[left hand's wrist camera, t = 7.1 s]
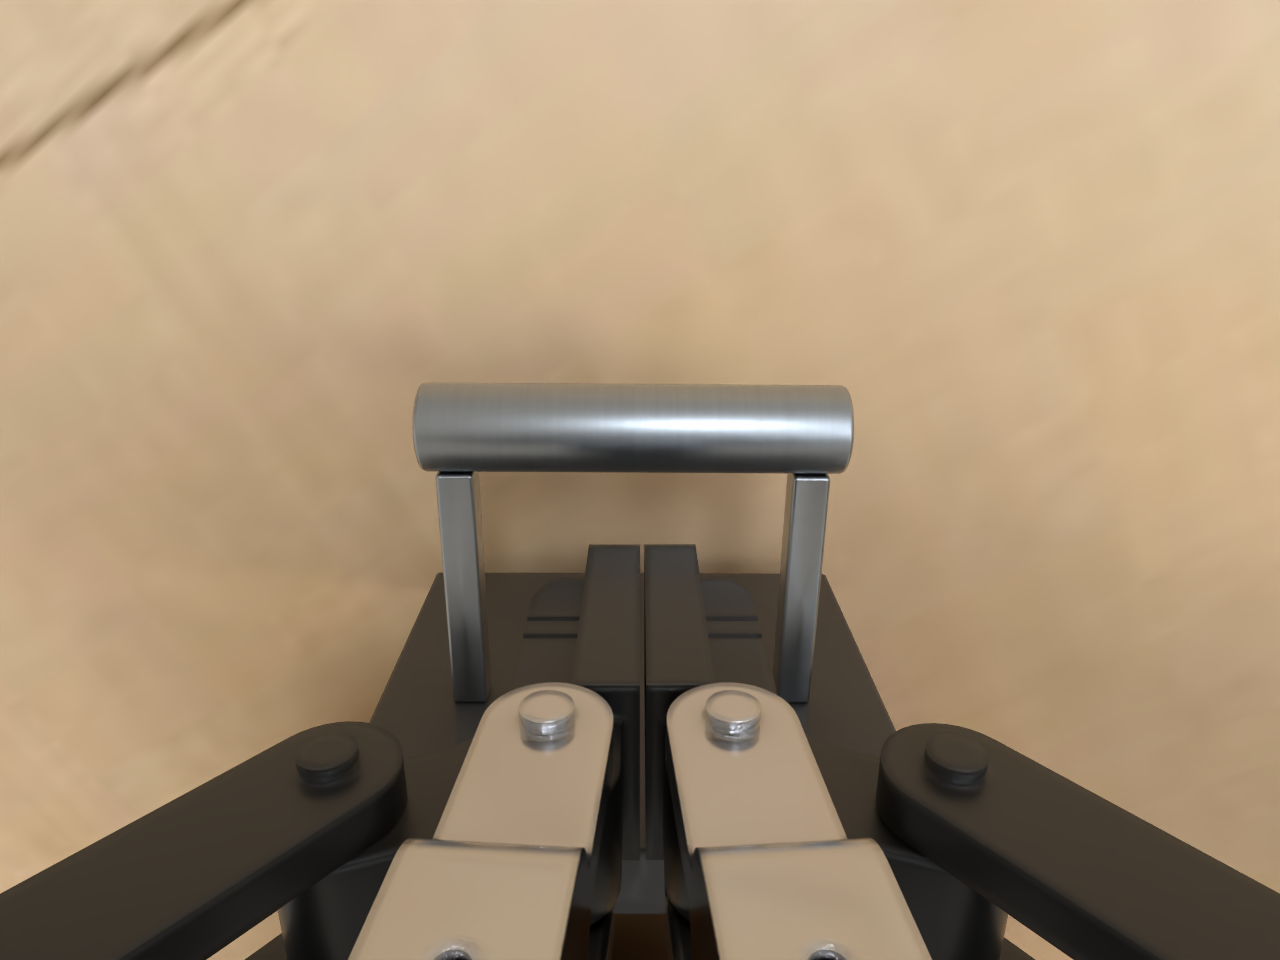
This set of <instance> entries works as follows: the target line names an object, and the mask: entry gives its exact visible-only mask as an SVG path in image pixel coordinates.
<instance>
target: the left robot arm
mask: <svg viewBox="0 0 1280 960" xmlns="http://www.w3.org/2000/svg"><path fill="white" fill-rule="evenodd" d="M644 710H645V832H646V860H664V880H665V894H664V926H665V934H666V942H667V950H668V958H669V960H1035V959H1034V958H1032V957H1031V956H1029V955H1028V954H1027V953H1025V952H1024V951H1022V950H1021V949H1020V948H1018V947H1017V946H1015V945H1014V944H1013V943H1011V942H1010V941H1008V940H1007V939H1006V938H1004V933H1005V928H1006V923H1007V918H1008V914H1009V915H1010V916H1012V917H1013V918H1014V919H1016V920H1017V921H1019V922H1020V923H1022V924H1023V925H1025V926H1026V927H1027V928H1029V929H1030V930H1032V931H1033V932H1035V933H1036V934H1038V935H1039V936H1040V937H1042V938H1043V939H1045V940H1046V941H1048V942H1049V943H1051V944H1052V945H1053V946H1055V947H1056V948H1058V949H1059V950H1061V951H1062V952H1063V953H1065V954H1066V955H1068V956H1069V957H1071V958H1072V959H1074V960H1280V894H1279V893H1277V892H1275V891H1274V890H1272V889H1270V888H1268V887H1266V886H1264V885H1263V884H1261V883H1259V882H1257V881H1255V880H1253V879H1251V878H1250V877H1248V876H1246V875H1244V874H1242V873H1240V872H1238V871H1237V870H1235V869H1233V868H1231V867H1229V866H1227V865H1226V864H1224V863H1222V862H1220V861H1218V860H1216V859H1214V858H1213V857H1211V856H1209V855H1207V854H1205V853H1203V852H1201V851H1200V850H1198V849H1196V848H1194V847H1192V846H1190V845H1189V844H1187V843H1185V842H1183V841H1181V840H1179V839H1177V838H1176V837H1174V836H1172V835H1170V834H1168V833H1166V832H1164V831H1163V830H1161V829H1159V828H1157V827H1155V826H1153V825H1152V824H1150V823H1148V822H1146V821H1144V820H1142V819H1140V818H1139V817H1137V816H1135V815H1133V814H1131V813H1129V812H1128V811H1126V810H1124V809H1122V808H1120V807H1118V806H1116V805H1115V804H1113V803H1111V802H1109V801H1107V800H1105V799H1103V798H1102V797H1100V796H1098V795H1096V794H1094V793H1092V792H1091V791H1089V790H1087V789H1085V788H1083V787H1081V786H1079V785H1078V784H1076V783H1074V782H1072V781H1070V780H1068V779H1066V778H1065V777H1063V776H1061V775H1059V774H1057V773H1055V772H1054V771H1052V770H1050V769H1048V768H1046V767H1044V766H1042V765H1041V764H1039V763H1037V762H1035V761H1033V760H1031V759H1029V758H1028V757H1026V756H1024V755H1022V754H1020V753H1018V752H1017V751H1015V750H1013V749H1011V748H1009V747H1007V746H1005V745H1004V744H1002V743H1000V742H998V741H996V740H994V739H992V738H990V737H988V736H986V735H984V734H981V733H979V732H976V731H973V730H970V729H967V728H963V727H959V726H954V725H948V724H936V723H931V724H918V725H912V726H909V727H905V728H902V729H900V730H898V731H896V732H894V733H893V734H892V735H891V736H889V737H888V738H887V740H886V741H885V742H884V744H883V747H882V749H881V756H875V755H870V754H866V753H861V752H857V751H852V750H847V749H843V748H840V747H836V746H833V745H830V744H827V743H824V742H822V741H820V740H818V739H816V738H813V737H811V736H810V735H808V734H806V733H805V732H804V731H803V728H802V726H801V723H800V721H799V718H798V716H797V714H796V712H795V711H794V709H793V708H792V707H791V706H790V705H789V704H788V703H787V702H786V701H785V700H784V699H782V698H781V697H779V696H778V695H777V691H776V687H775V683H774V679H773V675H772V671H771V667H770V663H769V659H768V655H767V651H766V648H765V644H764V640H763V638H762V632H761V628H760V624H759V621H758V616H757V612H756V608H755V604H754V601H753V597H752V595H751V594H750V593H748V592H747V591H746V590H745V589H744V588H743V587H742V586H741V585H740V584H739V583H737V582H736V581H735V580H734V579H733V578H700V575H699V568H698V561H697V554H696V547H695V545H644ZM622 860H640V545H589V550H588V558H587V566H586V573H585V578H552V579H550V580H549V581H548V582H547V583H546V584H545V585H544V586H543V587H542V588H541V589H540V590H538V591H537V592H536V593H535V594H534V595H533V596H532V599H531V603H530V608H529V612H528V616H527V621H526V624H525V628H524V632H523V638H522V640H521V644H520V648H519V652H518V657H517V661H516V665H515V669H514V673H513V677H512V681H511V685H510V689H509V692H508V693H506V694H504V695H502V696H501V697H499V698H498V699H496V700H495V701H494V702H493V703H492V704H491V705H490V706H489V707H488V708H487V709H486V711H485V712H484V714H483V716H482V718H481V721H480V723H479V726H478V728H477V731H476V733H475V735H474V737H473V738H471V739H469V740H467V741H465V742H463V743H460V744H457V745H454V746H452V747H448V748H444V749H440V750H436V751H431V752H427V753H422V754H417V755H413V756H408V757H403V752H402V747H401V744H400V742H399V740H398V739H397V738H396V736H395V735H394V734H392V733H391V732H390V731H388V730H387V729H384V728H382V727H380V726H377V725H374V724H370V723H364V722H337V723H331V724H325V725H321V726H317V727H314V728H311V729H308V730H305V731H302V732H300V733H298V734H296V735H294V736H291V737H289V738H288V739H286V740H284V741H282V742H280V743H278V744H276V745H275V746H273V747H271V748H269V749H267V750H265V751H263V752H262V753H260V754H258V755H256V756H254V757H252V758H251V759H249V760H247V761H245V762H243V763H241V764H239V765H238V766H236V767H234V768H232V769H230V770H228V771H227V772H225V773H223V774H221V775H219V776H217V777H215V778H214V779H212V780H210V781H208V782H206V783H204V784H202V785H201V786H199V787H197V788H195V789H193V790H191V791H190V792H188V793H186V794H184V795H182V796H180V797H178V798H177V799H175V800H173V801H171V802H169V803H167V804H165V805H164V806H162V807H160V808H158V809H156V810H154V811H153V812H151V813H149V814H147V815H145V816H143V817H141V818H140V819H138V820H136V821H134V822H132V823H130V824H128V825H127V826H125V827H123V828H121V829H119V830H117V831H116V832H114V833H112V834H110V835H108V836H106V837H104V838H103V839H101V840H99V841H97V842H95V843H93V844H91V845H90V846H88V847H86V848H84V849H82V850H80V851H79V852H77V853H75V854H73V855H71V856H69V857H67V858H66V859H64V860H62V861H60V862H58V863H56V864H55V865H53V866H51V867H49V868H47V869H45V870H43V871H42V872H40V873H38V874H36V875H34V876H32V877H30V878H29V879H27V880H25V881H23V882H21V883H19V884H18V885H16V886H14V887H12V888H10V889H8V890H6V891H5V892H3V893H1V894H0V960H206V959H208V958H209V957H211V956H212V955H214V954H215V953H217V952H218V951H219V950H221V949H222V948H224V947H225V946H227V945H228V944H230V943H231V942H232V941H234V940H235V939H237V938H238V937H240V936H241V935H242V934H244V933H245V932H247V931H248V930H250V929H251V928H253V927H254V926H255V925H257V924H258V923H260V922H261V921H263V920H264V919H266V918H267V917H268V916H270V915H271V914H273V913H274V912H276V911H277V910H278V914H279V919H280V925H281V930H282V933H281V934H280V935H279V936H277V937H276V938H274V939H273V940H272V941H270V942H269V943H267V944H266V945H265V946H263V947H262V948H260V949H259V950H258V951H256V952H255V953H253V954H252V955H251V956H249V957H248V958H247V959H245V960H611V958H612V950H613V942H614V934H615V926H616V901H617V899H618V896H619V893H620V890H621V882H622Z"/></svg>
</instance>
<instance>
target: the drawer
mask: <svg viewBox="0 0 1280 960" xmlns="http://www.w3.org/2000/svg"><path fill="white" fill-rule="evenodd" d="M853 439H854V414H853V406H852V401H851V397H850V394H849V392H848V390H847V388H846V387H844V386H836V385H689V384H541V383H424V384H422V385H420V387H419V389H418V391H417V394H416V398H415V403H414V410H413V441H414V449H415V454H416V458H417V461H418V464H419V466H420V468H421V469H422V470H425V471H439V472H438V473H437V475H436V487H437V500H438V512H439V525H440V537H441V550H442V562H443V573H438V574H437V575H436V578H435V580H434V582H433V584H432V586H431V589H430V591H429V593H428V595H427V597H426V600H425V602H424V604H423V606H422V608H421V611H420V613H419V615H418V617H417V619H416V622H415V624H414V626H413V628H412V630H411V633H410V635H409V637H408V639H407V641H406V644H405V646H404V648H403V650H402V652H401V655H400V657H399V659H398V661H397V663H396V666H395V668H394V670H393V672H392V674H391V677H390V679H389V681H388V683H387V685H386V688H385V690H384V692H383V694H382V696H381V699H380V701H379V703H378V705H377V707H376V710H375V712H374V714H373V716H372V718H371V720H370V724H374V725H377V726H380V727H382V728H384V729H387V730H388V731H390V732H391V733H392V734H394V735H395V736H396V738H397V739H398V740H399V742H400V744H401V747H402V752H403V757H408V756H413V755H417V754H422V753H427V752H431V751H436V750H440V749H444V748H448V747H452V746H454V745H457V744H460V743H463V742H465V741H467V740H469V739H471V738H473V737H474V735H475V733H476V731H477V728H478V726H479V723H480V721H481V718H482V716H483V714H484V712H485V711H486V709H487V708H488V707H489V706H490V705H491V704H492V703H493V702H494V701H495V700H496V699H498V698H499V697H501V696H502V695H504V694H506V693H508V692H509V689H510V685H511V681H512V677H513V673H514V669H515V665H516V661H517V657H518V652H519V648H520V644H521V640H522V638H523V632H524V628H525V624H526V621H527V616H528V612H529V608H530V603H531V599H532V596H533V595H534V594H535V593H536V592H537V591H538V590H540V589H541V588H542V587H543V586H544V585H545V584H546V583H547V582H548V581H549V580H550V579H552V578H585V573H485V567H484V551H483V534H482V518H481V501H480V485H479V472H658V473H788V475H787V489H786V502H785V515H784V529H783V542H782V555H781V568H780V574H699V575H700V578H733V579H734V580H735V581H736V582H737V583H739V584H740V585H741V586H742V587H743V588H744V589H745V590H746V591H747V592H748V593H750V594H751V595H752V597H753V601H754V604H755V608H756V612H757V616H758V621H759V624H760V628H761V632H762V638H763V640H764V644H765V648H766V651H767V655H768V659H769V663H770V667H771V671H772V675H773V679H774V683H775V687H776V691H777V695H778V696H779V697H781V698H782V699H784V700H785V701H786V702H787V703H788V704H789V705H790V706H791V707H792V708H793V709H794V711H795V712H796V714H797V716H798V718H799V721H800V723H801V726H802V728H803V731H804V732H805V733H806V734H808V735H810V736H811V737H813V738H816V739H818V740H820V741H822V742H824V743H827V744H830V745H833V746H836V747H840V748H843V749H847V750H852V751H857V752H861V753H866V754H870V755H875V756H881V749H882V747H883V744H884V742H885V741H886V740H887V738H888V737H889V736H891V735H892V734H893V733H894V732H896V730H895V728H894V726H893V724H892V722H891V719H890V717H889V715H888V713H887V711H886V708H885V706H884V704H883V702H882V700H881V697H880V695H879V693H878V691H877V689H876V686H875V684H874V682H873V680H872V677H871V675H870V673H869V671H868V669H867V666H866V664H865V662H864V660H863V658H862V655H861V653H860V651H859V649H858V647H857V644H856V642H855V640H854V638H853V636H852V633H851V631H850V629H849V627H848V625H847V622H846V620H845V618H844V616H843V613H842V611H841V609H840V607H839V605H838V602H837V600H836V598H835V596H834V594H833V591H832V589H831V587H830V585H829V583H828V580H827V578H826V576H825V575H823V574H821V572H822V561H823V550H824V540H825V529H826V519H827V508H828V497H829V487H830V478H829V476H828V474H827V473H838V474H840V473H842V472H844V471H845V470H846V469H847V467H848V464H849V461H850V458H851V454H852V448H853ZM664 894H665V880H664V860H646V832H645V710H644V574H640V860H622V882H621V890H620V893H619V896H618V899H617V901H616V926H615V934H614V942H613V950H612V958H611V960H669V958H668V950H667V942H666V934H665V926H664Z"/></svg>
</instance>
